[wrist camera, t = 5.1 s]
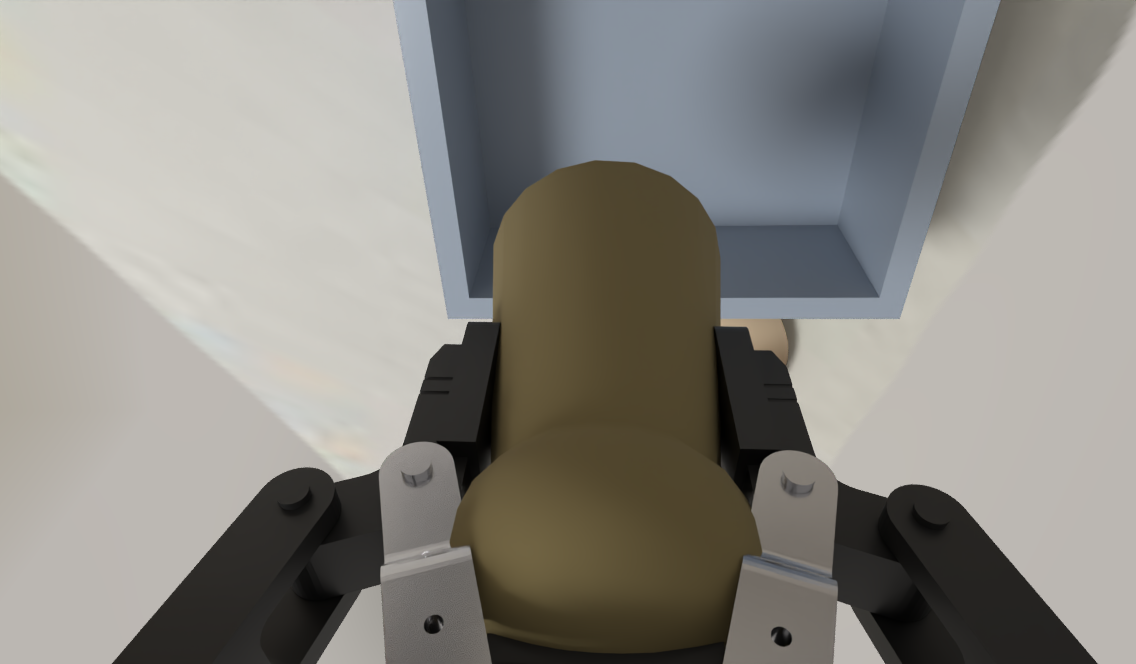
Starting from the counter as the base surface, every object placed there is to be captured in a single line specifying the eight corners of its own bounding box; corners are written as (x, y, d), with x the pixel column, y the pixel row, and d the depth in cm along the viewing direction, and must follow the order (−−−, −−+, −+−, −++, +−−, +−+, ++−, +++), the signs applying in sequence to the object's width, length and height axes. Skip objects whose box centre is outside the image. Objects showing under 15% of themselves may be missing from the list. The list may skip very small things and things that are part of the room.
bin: (412, -242, 22) (347, -267, 17) (969, -271, 21) (1098, -308, 16) (475, 236, 33) (448, 318, 28) (848, 233, 32) (899, 319, 26)
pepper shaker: (769, 232, 17) (934, 669, 8) (638, 382, 20) (661, 805, 12) (561, 113, 15) (502, 504, 7) (456, 298, 19) (327, 717, 10)
